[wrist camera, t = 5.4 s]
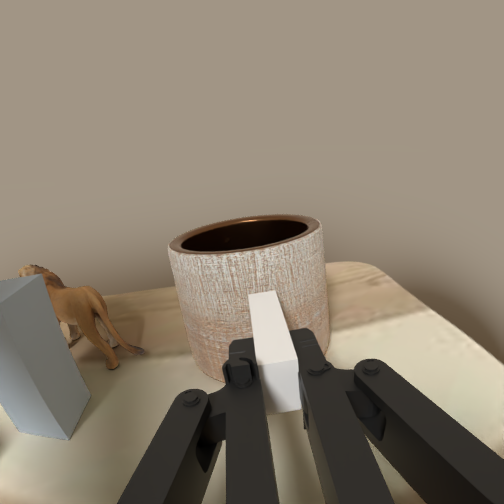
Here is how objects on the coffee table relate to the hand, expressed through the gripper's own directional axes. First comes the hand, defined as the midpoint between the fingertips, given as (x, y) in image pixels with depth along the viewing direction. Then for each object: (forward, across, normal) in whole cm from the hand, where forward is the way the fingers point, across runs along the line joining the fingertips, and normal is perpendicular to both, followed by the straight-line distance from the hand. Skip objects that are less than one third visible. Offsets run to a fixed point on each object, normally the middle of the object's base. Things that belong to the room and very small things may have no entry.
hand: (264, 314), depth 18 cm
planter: (+6, 0, -6) cm, 8 cm away
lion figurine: (+8, -18, -6) cm, 20 cm away
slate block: (-1, -16, -6) cm, 17 cm away
